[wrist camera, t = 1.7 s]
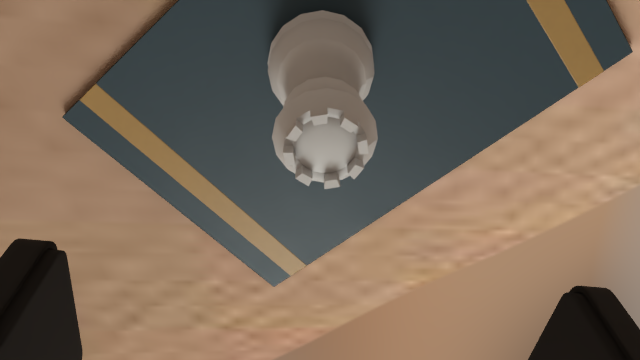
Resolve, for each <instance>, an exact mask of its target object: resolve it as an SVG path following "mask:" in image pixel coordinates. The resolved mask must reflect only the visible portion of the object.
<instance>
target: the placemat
mask: <svg viewBox="0 0 640 360" xmlns="http://www.w3.org/2000/svg"><path fill="white" fill-rule="evenodd" d="M321 10H324V11H328V12H332V13H337V14H341V15H344V16H346V17H347V18H348V19H350V20H351V21H353V22H354V23H355V24H357V25H358V26H359V27H361V28H362V30H363V32H364V33H365V35H366V37H367V39H368V40H369V42H370V44H371V46H372V53H373V62H374V73H375V74H374V77H373V81H372V84H371V87H370V90H369V93H368V95H367V97H366V98H365V99H364V100H363V102H364V104H366V106H367V107H368V109H369V111H370V112H371V114H372V115H373V117H374V119H375V120H376V127H377V136H378V140H377V143H376V146H375V149H374V152H373V155H372V157H371V158H370V159H369V161H368V162H367V163H366V164H365V165H364V169H363V170H362V171H361V172H360V174H359V175H358V176H357V177H356V178H355V179H353V178H352V177H351V176H348V177H347V178H345V179H343V180H340V187H336V188H329V189H324V182H318V181H311V183H310V185H309V186H307V185H305V184H304V183H302V182H300V181H299V180H297V179H295V173H293V172H291V171H290V170H288V169H287V168H286V167H285V165H284V164H283V163H282V161H281V160H280V159H279V158H278V156H277V155H276V152H275V148H274V144H273V140H272V134H273V129H274V124H275V119H276V117H277V116H278V115H279V113H280V112H281V110H282V109H283V105H282V104H281V102H280V101H279V99H278V98H277V97H276V95H275V94H274V92H273V91H272V88H271V83H270V79H269V75H268V64H267V63H268V58H269V52H270V47H271V43H272V41H273V40H274V38H275V37H276V35H277V34H278V32H279V31H280V29H281V28H282V26H283V25H285V24H286V23H288V22H290V21H291V20H293V19H294V18H296V17H297V16H299V15H300V14H304V13H310V12H316V11H321ZM632 52H633V51H632V49H631V47H630V45H629V43H628V42H627V40H626V38H625V36H624V34H623V32H622V30H621V28H620V26H619V24H618V22H617V20H616V18H615V16H614V14H613V12H612V10H611V8H610V7H609V5H608V3H607V1H606V0H178V1H177V2H176V3H175V4H174V5H173V6H172V7H171V8H170V9H169V10H168V11H167V12H166V13H165V14H164V15H163V16H162V17H161V18H160V19H159V20H158V21H157V22H156V23H155V24H154V25H153V26H152V27H151V28H150V29H149V30H148V31H147V32H146V33H145V34H144V35H143V36H142V37H141V38H140V39H139V40H138V41H137V42H136V43H135V44H134V45H133V46H132V47H131V48H130V49H129V50H128V51H127V52H126V53H125V54H124V55H123V56H122V57H121V58H120V59H119V60H118V61H117V62H116V63H115V64H114V65H113V66H112V67H111V68H110V69H109V70H108V71H107V72H106V73H105V74H104V75H103V76H102V77H101V78H100V79H99V80H98V81H97V82H96V83H95V84H94V85H93V86H92V87H91V88H90V89H89V90H88V91H87V92H86V93H85V94H84V95H83V96H82V97H81V98H80V99H79V100H78V101H77V102H76V103H75V104H74V105H73V106H72V107H71V108H70V110H69V111H68V112H67V113H66V114H65V115H64V116H63V118H64V119H65V120H66V121H67V122H69V123H70V124H71V125H72V126H74V127H75V128H76V129H77V130H79V131H80V132H81V133H82V134H84V135H85V136H86V137H87V138H89V139H90V140H91V141H92V142H94V143H95V144H96V145H97V146H99V147H100V148H101V149H102V150H104V151H105V152H106V153H107V154H109V155H110V156H111V157H112V158H114V159H115V160H116V161H117V162H119V163H120V164H121V165H122V166H124V167H125V168H126V169H127V170H129V171H130V172H131V173H132V174H134V175H135V176H136V177H137V178H139V179H140V180H141V181H142V182H144V183H145V184H146V185H147V186H149V187H150V188H151V189H152V190H154V191H155V192H156V193H157V194H159V195H160V196H161V197H162V198H164V199H165V200H166V201H167V202H169V203H170V204H171V205H172V206H174V207H175V208H176V209H177V210H179V211H180V212H181V213H182V214H184V215H185V216H186V217H187V218H188V219H190V220H191V221H192V222H193V223H195V224H196V225H197V226H198V227H200V228H201V229H202V230H203V231H205V232H206V233H207V234H208V235H210V236H211V237H212V238H213V239H215V240H216V241H217V242H218V243H220V244H221V245H222V246H223V247H225V248H226V249H227V250H228V251H230V252H231V253H232V254H233V255H235V256H236V257H237V258H238V259H240V260H241V261H242V262H243V263H245V264H246V265H247V266H248V267H250V268H251V269H252V270H253V271H255V272H256V273H257V274H258V275H260V276H261V277H262V278H263V279H265V280H266V281H267V282H268V283H270V284H271V285H272V286H273V287H275V286H276V285H278V284H279V283H281V282H282V281H284V280H285V279H287V278H288V277H290V276H292V275H293V274H295V273H296V272H298V271H299V270H301V269H302V268H304V267H306V266H307V265H308V264H310V263H311V262H313V261H314V260H316V259H317V258H319V257H320V256H322V255H324V254H325V253H327V252H328V251H330V250H331V249H333V248H334V247H336V246H337V245H339V244H340V243H342V242H343V241H345V240H346V239H348V238H349V237H351V236H353V235H354V234H356V233H357V232H359V231H360V230H362V229H363V228H365V227H366V226H368V225H369V224H371V223H372V222H374V221H375V220H377V219H378V218H380V217H382V216H383V215H385V214H386V213H388V212H389V211H391V210H392V209H394V208H395V207H397V206H398V205H400V204H401V203H403V202H404V201H406V200H407V199H409V198H411V197H412V196H414V195H415V194H417V193H418V192H420V191H421V190H423V189H424V188H426V187H427V186H429V185H430V184H432V183H433V182H435V181H436V180H438V179H440V178H441V177H443V176H444V175H446V174H447V173H449V172H450V171H452V170H453V169H455V168H456V167H458V166H459V165H461V164H462V163H464V162H465V161H467V160H469V159H470V158H472V157H473V156H475V155H476V154H478V153H479V152H481V151H482V150H484V149H485V148H487V147H488V146H490V145H491V144H493V143H495V142H496V141H498V140H499V139H501V138H502V137H504V136H505V135H507V134H508V133H510V132H511V131H513V130H514V129H516V128H517V127H519V126H520V125H522V124H524V123H525V122H527V121H528V120H530V119H531V118H533V117H534V116H536V115H537V114H539V113H540V112H542V111H543V110H545V109H546V108H548V107H549V106H551V105H553V104H554V103H556V102H557V101H559V100H560V99H562V98H563V97H565V96H566V95H568V94H569V93H571V92H572V91H574V90H575V89H577V88H578V87H580V86H582V85H583V84H585V83H587V82H588V81H590V80H591V79H593V78H594V77H596V76H597V75H599V74H600V73H602V72H603V71H604V70H606V69H607V68H609V67H611V66H612V65H614V64H615V63H617V62H618V61H620V60H621V59H623V58H624V57H626V56H627V55H629V54H630V53H632Z"/></svg>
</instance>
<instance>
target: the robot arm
mask: <svg viewBox="0 0 640 360" xmlns="http://www.w3.org/2000/svg"><path fill="white" fill-rule="evenodd" d="M0 360H82V345H81V339H80V333H79V327H78V321H77V315H76V309H75V303H74V297H73V291H72V285H71V279H70V273H69V267H68V261H67V256H66V253H65V251H61V250H57V247H56V244H55V243H54V242H51V241H41V240H29V239H17V240H15V241H14V242H13V243H12V244H11V245H10V246H9V247H8V249H7V250H6V251H5V253H4V254H3V255H2V256H1V258H0ZM528 360H640V329H639V328H638V326H637V325H636V324H635V322H634V321H633V319H632V318H631V317H630V315H629V314H628V313H627V311H626V310H625V309H624V307H623V306H622V304H621V303H620V302H619V300H618V299H617V298H616V296H615V295H614V294H613V293H612V292H611V291H610V290H609V289H607V288H599V287H587V286H575V287H574V288H572V289H571V290H570V292H569V293H565V294H563V296H562V297H561V299H560V301H559V303H558V305H557V306H556V309H555V310H554V312H553V314H552V316H551V318H550V319H549V321H548V323H547V325H546V327H545V329H544V331H543V333H542V334H541V336H540V338H539V340H538V342H537V344H536V346H535V348H534V349H533V351H532V353H531V355H530V357H529V359H528Z"/></svg>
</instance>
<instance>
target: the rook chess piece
mask: <svg viewBox="0 0 640 360" xmlns="http://www.w3.org/2000/svg"><path fill="white" fill-rule="evenodd" d="M267 64H268V75H269V79H270V83H271V88H272V91H273V92H274V94H275V95H276V97H277V98H278V99H279V101H280V102H281V104H282V105H283V109H282V110H281V112H280V113H279V115H278V116H277V117H276V119H275V124H274V129H273V134H272V140H273V144H274V148H275V152H276V155H277V156H278V158H279V159H280V160H281V161H282V163H283V164H284V165H285V167H286V168H287V169H288V170H290V171H291V172H293V173H295V179H297V180H299V181H300V182H302V183H304V184H305V185H307V186H309V185H310V183H311V181H318V182H324V189H329V188H336V187H340V180H343V179H345V178H347V177H348V176H351V177H352V178H353V179H355V178H356V177H357V176H358V175H359V174H360V172H361V171H362V170H363V169H364V165H365V164H366V163H367V162H368V161H369V159H370V158H371V157H372V155H373V152H374V149H375V146H376V143H377V140H378V136H377V127H376V120H375V119H374V117H373V115H372V114H371V112H370V111H369V109H368V107H367V106H366V104H364V102H363V100H364V99H365V98H366V97H367V95H368V93H369V90H370V87H371V84H372V81H373V77H374V74H375V73H374V62H373V53H372V46H371V44H370V42H369V40H368V39H367V37H366V35H365V33H364V32H363V30H362V28H361V27H359V26H358V25H357V24H355V23H354V22H353V21H351V20H350V19H348V18H347V17H346V16H344V15H341V14H337V13H332V12H328V11H324V10H321V11H316V12H310V13H304V14H300V15H299V16H297V17H296V18H294V19H293V20H291V21H290V22H288V23H286V24H285V25H283V26H282V28H281V29H280V31H279V32H278V34H277V35H276V37H275V38H274V40H273V41H272V43H271V47H270V52H269V58H268V63H267Z"/></svg>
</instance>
